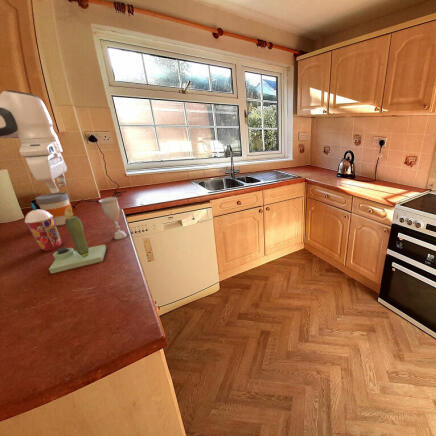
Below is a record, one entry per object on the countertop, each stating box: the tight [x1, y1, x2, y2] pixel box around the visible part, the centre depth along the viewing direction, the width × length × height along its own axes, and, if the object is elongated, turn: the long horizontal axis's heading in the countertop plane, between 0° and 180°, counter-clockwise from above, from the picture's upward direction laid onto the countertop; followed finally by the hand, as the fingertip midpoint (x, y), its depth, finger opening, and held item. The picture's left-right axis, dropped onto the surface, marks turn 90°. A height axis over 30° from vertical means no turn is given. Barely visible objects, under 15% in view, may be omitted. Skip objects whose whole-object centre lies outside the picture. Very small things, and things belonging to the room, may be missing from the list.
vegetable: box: [64, 207, 89, 257], centre depth 89 cm, size 4×4×20 cm
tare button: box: [56, 246, 69, 254], centre depth 93 cm, size 3×3×2 cm
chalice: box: [98, 196, 127, 240], centre depth 109 cm, size 7×7×18 cm
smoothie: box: [24, 202, 63, 252], centre depth 101 cm, size 8×8×20 cm
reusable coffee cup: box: [35, 191, 73, 226], centre depth 129 cm, size 12×13×15 cm
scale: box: [48, 243, 107, 274], centre depth 93 cm, size 15×12×4 cm
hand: (59, 189), depth 83 cm, fingers open, 8 cm apart
